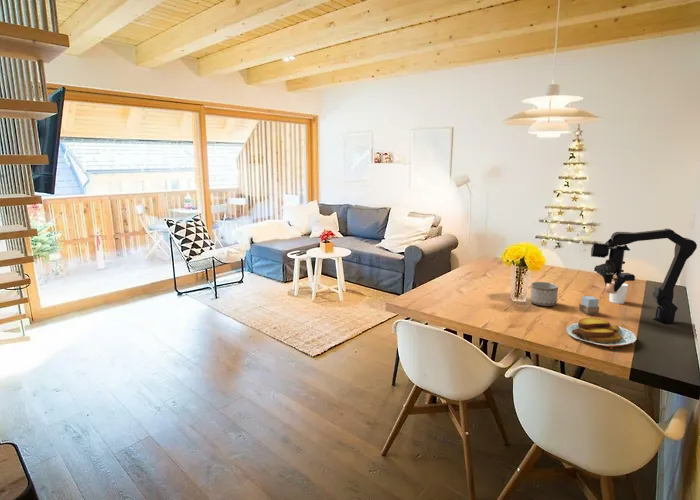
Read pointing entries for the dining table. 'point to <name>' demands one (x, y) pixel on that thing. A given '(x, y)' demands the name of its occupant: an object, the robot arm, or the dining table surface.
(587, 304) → the tower top
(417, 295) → the dining table surface
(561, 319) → the dining table surface
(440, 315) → the dining table surface
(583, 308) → the tower base
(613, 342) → the food on plate
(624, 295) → the white cup
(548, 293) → the planter
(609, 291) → the pink rounded block
